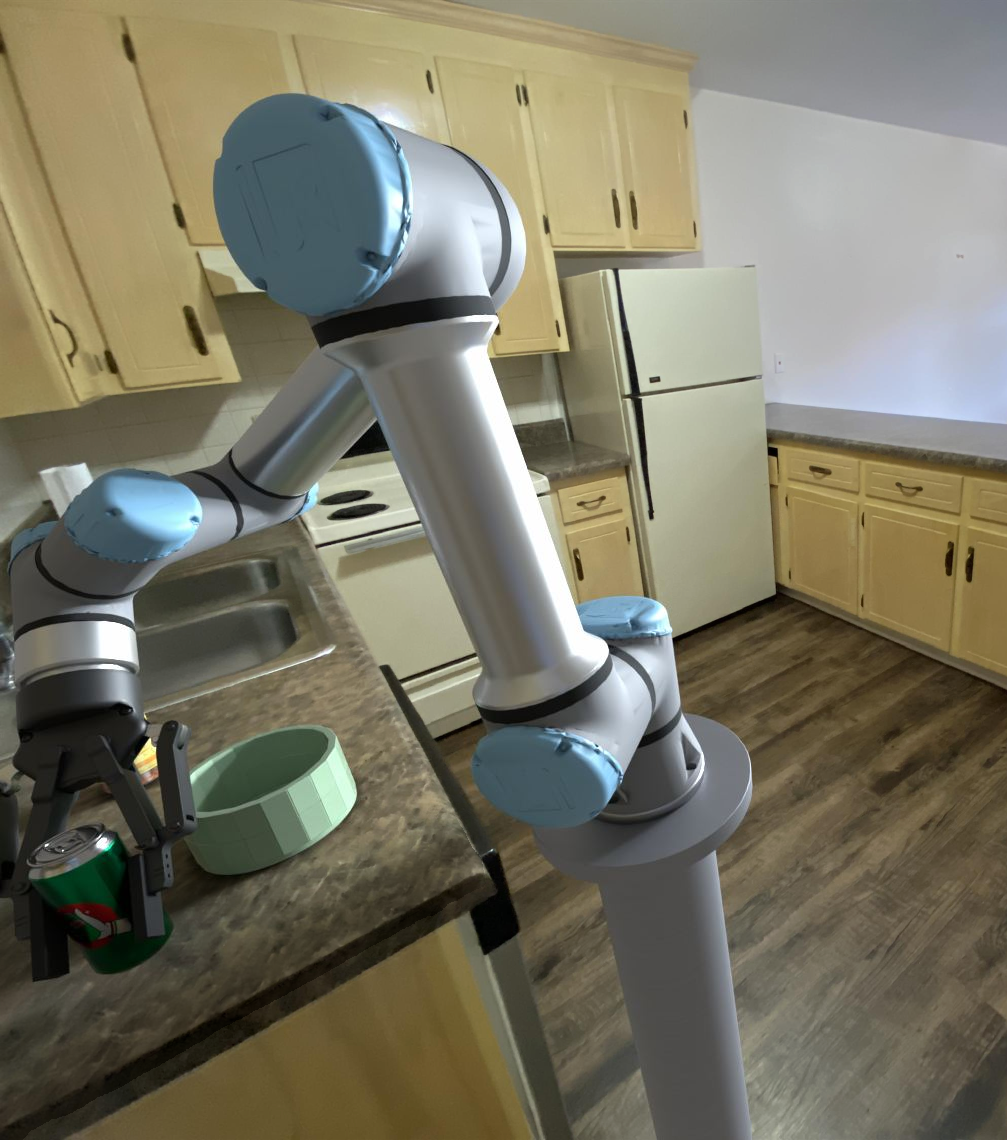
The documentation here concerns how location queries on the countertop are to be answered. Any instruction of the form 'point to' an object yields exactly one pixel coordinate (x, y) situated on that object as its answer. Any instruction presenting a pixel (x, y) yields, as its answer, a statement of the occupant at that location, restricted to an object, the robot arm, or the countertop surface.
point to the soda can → (93, 896)
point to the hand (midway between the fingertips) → (102, 956)
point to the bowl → (268, 798)
